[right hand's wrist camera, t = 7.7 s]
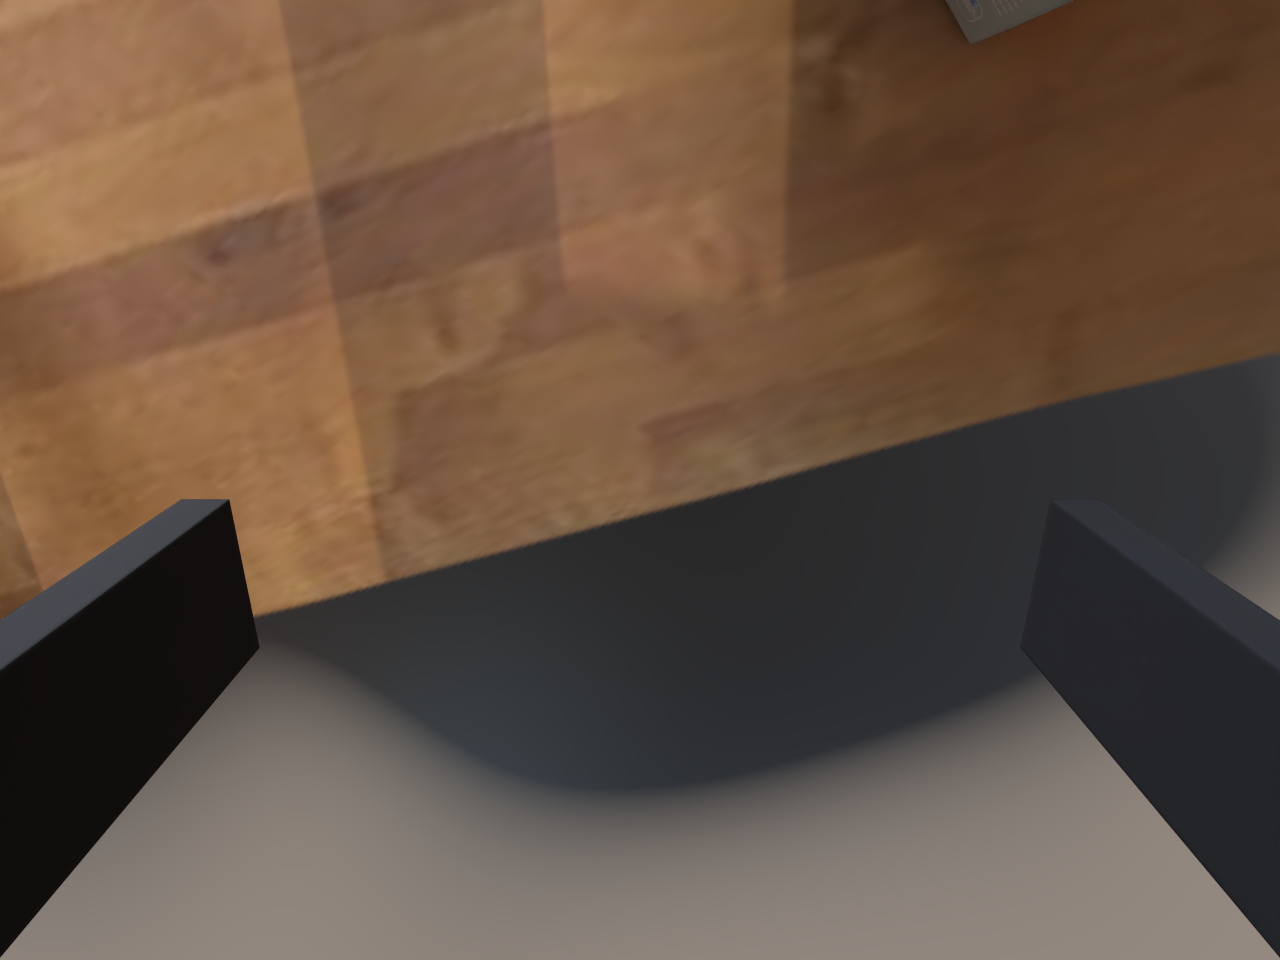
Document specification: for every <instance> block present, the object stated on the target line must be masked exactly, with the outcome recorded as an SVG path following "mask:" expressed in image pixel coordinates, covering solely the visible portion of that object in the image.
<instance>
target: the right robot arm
mask: <svg viewBox="0 0 1280 960" xmlns="http://www.w3.org/2000/svg"><path fill="white" fill-rule="evenodd" d="M258 649H259V643H258V638H257V633H256V628H255V623H254V618H253V613H252V609H251V604H250V599H249V594H248V589H247V584H246V579H245V574H244V569H243V564H242V560H241V555H240V550H239V545H238V540H237V535H236V530H235V525H234V520H233V515H232V511H231V506H230V501H229V499H181V500H180V501H178V502H177V503H175V504H174V505H172V506H171V507H169V508H168V509H166V510H165V511H163V512H162V513H160V514H159V515H157V516H156V517H154V518H153V519H151V520H150V521H148V522H147V523H145V524H144V525H142V526H141V527H139V528H138V529H136V530H135V531H133V532H132V533H130V534H129V535H127V536H126V537H124V538H123V539H121V540H120V541H118V542H117V543H115V544H114V545H112V546H111V547H109V548H108V549H106V550H105V551H103V552H102V553H100V554H99V555H97V556H96V557H94V558H93V559H91V560H90V561H88V562H87V563H85V564H84V565H82V566H81V567H79V568H78V569H76V570H75V571H73V572H72V573H70V574H69V575H67V576H66V577H64V578H63V579H61V580H60V581H59V582H57V583H56V584H54V585H53V586H51V587H50V588H48V589H47V590H45V591H44V592H42V593H41V594H39V595H38V596H36V597H35V598H33V599H32V600H30V601H29V602H27V603H26V604H24V605H23V606H21V607H20V608H18V609H17V610H15V611H14V612H12V613H11V614H9V615H8V616H6V617H5V618H3V619H2V620H0V957H1V956H2V955H3V954H4V952H5V951H6V950H7V949H8V948H9V946H10V945H11V944H12V943H13V942H14V940H15V939H16V938H17V937H18V936H19V934H20V933H21V932H22V931H23V930H24V928H25V927H26V926H27V925H28V924H29V923H30V921H31V920H32V919H33V918H34V917H35V915H36V914H37V913H38V912H39V911H40V909H41V908H42V907H43V906H44V905H45V903H46V902H47V901H48V900H49V899H50V897H51V896H52V895H53V894H54V893H55V891H56V890H57V889H58V888H59V887H60V885H61V884H62V883H63V882H64V881H65V879H66V878H67V877H68V876H69V875H70V874H71V872H72V871H73V870H74V869H75V868H76V866H77V865H78V864H79V863H80V862H81V860H82V859H83V858H84V857H85V856H86V854H87V853H88V852H89V851H90V850H91V848H92V847H93V846H94V845H95V844H96V842H97V841H98V840H99V839H100V838H101V836H102V835H103V834H104V833H105V832H106V830H107V829H108V828H109V827H110V826H111V824H112V823H113V822H114V821H115V820H116V819H117V817H118V816H119V815H120V814H121V813H122V811H123V810H124V809H125V808H126V807H127V805H128V804H129V803H130V802H131V801H132V799H133V798H134V797H135V796H136V795H137V793H138V792H139V791H140V790H141V789H142V787H143V786H144V785H145V784H146V783H147V781H148V780H149V779H150V778H151V777H152V776H153V774H154V773H155V772H156V771H157V770H158V768H159V767H160V766H161V765H162V764H163V762H164V761H165V760H166V759H167V758H168V756H169V755H170V754H171V753H172V752H173V750H174V749H175V748H176V747H177V746H178V744H179V743H180V742H181V741H182V740H183V738H184V737H185V736H186V735H187V734H188V732H189V731H190V730H191V729H192V728H193V727H194V725H195V724H196V723H197V722H198V721H199V719H200V718H201V717H202V716H203V715H204V713H205V712H206V711H207V710H208V709H209V707H210V706H211V705H212V704H213V703H214V701H215V700H216V699H217V698H218V697H219V695H220V694H221V693H222V692H223V691H224V689H225V688H226V687H227V686H228V685H229V683H230V682H231V681H232V680H233V679H234V677H235V676H236V675H237V674H238V673H239V672H240V670H241V669H242V668H243V667H244V666H245V664H246V663H247V662H248V661H249V660H250V658H251V657H252V656H253V655H254V654H255V652H256V651H257V650H258ZM1021 649H1022V650H1023V651H1024V652H1025V654H1026V655H1027V656H1028V657H1029V658H1030V660H1031V661H1032V662H1033V663H1034V664H1035V666H1036V667H1037V668H1038V669H1039V670H1040V672H1041V673H1042V674H1043V675H1044V676H1045V677H1046V679H1047V680H1048V681H1049V682H1050V683H1051V685H1052V686H1053V687H1054V688H1055V689H1056V691H1057V692H1058V693H1059V694H1060V695H1061V697H1062V698H1063V699H1064V700H1065V701H1066V702H1067V704H1068V705H1069V706H1070V707H1071V709H1072V710H1073V711H1074V712H1075V713H1076V715H1077V716H1078V717H1079V718H1080V719H1081V720H1082V722H1083V723H1084V724H1085V725H1086V727H1087V728H1088V729H1089V730H1090V731H1091V732H1092V734H1093V735H1094V736H1095V737H1096V738H1097V740H1098V741H1099V742H1100V743H1101V744H1102V746H1103V747H1104V748H1105V749H1106V750H1107V752H1108V753H1109V754H1110V755H1111V756H1112V758H1113V759H1114V760H1115V761H1116V762H1117V764H1118V765H1119V766H1120V767H1121V768H1122V770H1123V771H1124V772H1125V773H1126V774H1127V776H1128V777H1129V778H1130V779H1131V780H1132V781H1133V783H1134V784H1135V785H1136V786H1137V787H1138V789H1139V790H1140V791H1141V792H1142V793H1143V795H1144V796H1145V797H1146V798H1147V799H1148V801H1149V802H1150V803H1151V804H1152V805H1153V807H1154V808H1155V809H1156V810H1157V811H1158V813H1159V814H1160V815H1161V816H1162V817H1163V819H1164V820H1165V821H1166V822H1167V823H1168V825H1169V826H1170V827H1171V828H1172V829H1173V830H1174V832H1175V833H1176V834H1177V835H1178V836H1179V838H1180V839H1181V840H1182V841H1183V842H1184V844H1185V845H1186V846H1187V847H1188V848H1189V850H1190V851H1191V852H1192V853H1193V854H1194V856H1195V857H1196V858H1197V859H1198V860H1199V862H1200V863H1201V864H1202V865H1203V866H1204V868H1205V869H1206V870H1207V871H1208V872H1209V874H1210V875H1211V876H1212V877H1213V878H1214V879H1215V881H1216V882H1217V883H1218V884H1219V885H1220V887H1221V888H1222V889H1223V890H1224V891H1225V893H1226V894H1227V895H1228V896H1229V897H1230V899H1231V900H1232V901H1233V902H1234V903H1235V905H1236V906H1237V907H1238V908H1239V909H1240V911H1241V912H1242V913H1243V914H1244V915H1245V917H1246V918H1247V919H1248V920H1249V921H1250V923H1251V924H1252V925H1253V926H1254V927H1255V928H1256V930H1257V931H1258V932H1259V933H1260V934H1261V936H1262V937H1263V938H1264V939H1265V940H1266V942H1267V943H1268V944H1269V945H1270V946H1271V948H1272V949H1273V950H1274V951H1275V952H1276V954H1277V955H1278V956H1279V957H1280V620H1278V619H1277V618H1275V617H1274V616H1272V615H1271V614H1269V613H1268V612H1266V611H1265V610H1263V609H1262V608H1260V607H1259V606H1257V605H1256V604H1254V603H1253V602H1251V601H1250V600H1248V599H1247V598H1245V597H1244V596H1242V595H1241V594H1239V593H1238V592H1236V591H1235V590H1233V589H1232V588H1230V587H1229V586H1227V585H1226V584H1224V583H1223V582H1221V581H1220V580H1218V579H1217V578H1215V577H1214V576H1213V575H1211V574H1210V573H1208V572H1206V571H1205V570H1204V569H1202V568H1201V567H1199V566H1198V565H1196V564H1195V563H1193V562H1192V561H1190V560H1188V559H1187V558H1186V557H1184V556H1183V555H1181V554H1180V553H1178V552H1177V551H1175V550H1174V549H1172V548H1171V547H1169V546H1168V545H1166V544H1165V543H1163V542H1162V541H1160V540H1159V539H1157V538H1156V537H1154V536H1153V535H1151V534H1150V533H1148V532H1147V531H1145V530H1144V529H1142V528H1141V527H1139V526H1138V525H1136V524H1135V523H1133V522H1132V521H1130V520H1129V519H1127V518H1126V517H1124V516H1123V515H1121V514H1120V513H1118V512H1117V511H1115V510H1114V509H1112V508H1111V507H1109V506H1108V505H1106V504H1105V503H1103V502H1102V501H1100V500H1099V499H1051V501H1050V506H1049V511H1048V515H1047V521H1046V525H1045V530H1044V535H1043V540H1042V545H1041V550H1040V555H1039V560H1038V564H1037V569H1036V574H1035V579H1034V584H1033V589H1032V594H1031V599H1030V604H1029V609H1028V613H1027V618H1026V623H1025V628H1024V633H1023V638H1022V643H1021Z"/></svg>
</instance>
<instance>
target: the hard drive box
mask: <svg viewBox="0 0 1280 960" xmlns="http://www.w3.org/2000/svg"><path fill="white" fill-rule="evenodd" d="M1072 1H1074V0H946V2H947V4H948V6H949V7H950V9H951V11H952V13H953V15H954V17H955V18H956V20H957V22H958V24H959V26H960V28H961V29H962V31H963V33H964V35H965V36H966V38H967V40H968V41H969V43H971V44H975V43H977V42H980V41H982V40H984V39H987V38H989V37H991V36H994V35H996V34H999V33H1001V32H1003V31H1006V30H1008V29H1011V28H1013V27H1015V26H1018V25H1020V24H1022V23H1024V22H1027V21H1029V20H1031V19H1033V18H1036V17H1038V16H1040V15H1043V14H1045V13H1047V12H1049V11H1052V10H1054V9H1056V8H1058V7H1061V6H1063V5H1065V4H1067V3H1070V2H1072Z"/></svg>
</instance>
